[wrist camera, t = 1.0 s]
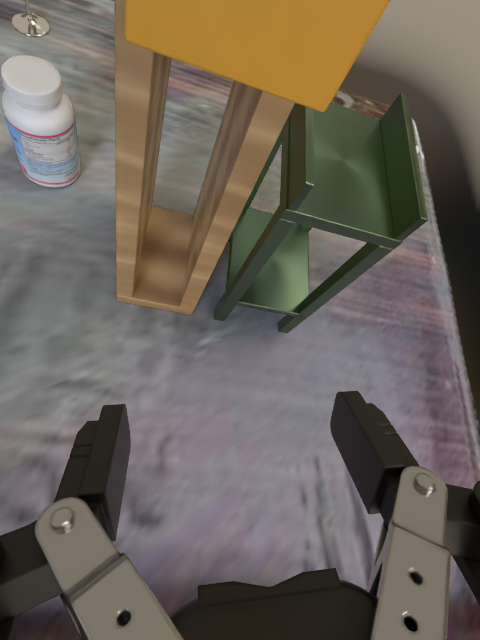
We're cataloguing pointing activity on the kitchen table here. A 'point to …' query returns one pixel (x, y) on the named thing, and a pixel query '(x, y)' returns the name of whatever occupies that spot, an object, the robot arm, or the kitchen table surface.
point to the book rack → (326, 207)
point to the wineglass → (30, 23)
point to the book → (260, 40)
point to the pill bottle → (40, 121)
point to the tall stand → (216, 193)
